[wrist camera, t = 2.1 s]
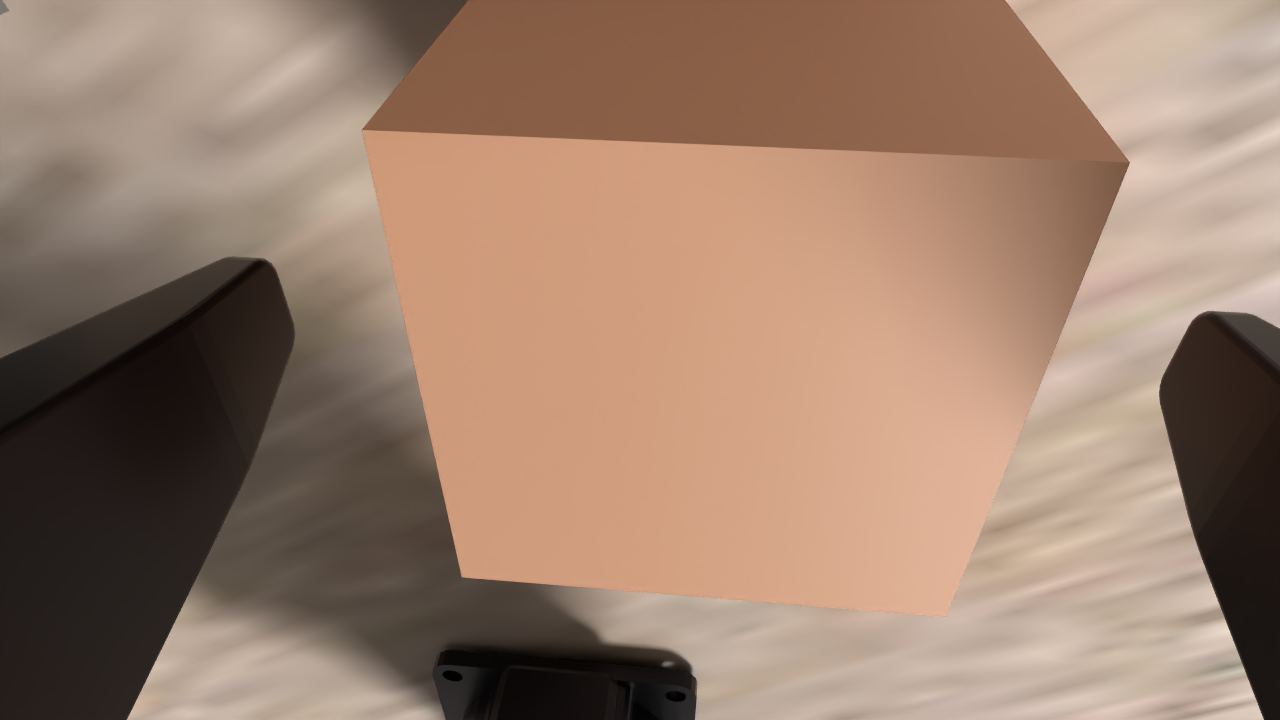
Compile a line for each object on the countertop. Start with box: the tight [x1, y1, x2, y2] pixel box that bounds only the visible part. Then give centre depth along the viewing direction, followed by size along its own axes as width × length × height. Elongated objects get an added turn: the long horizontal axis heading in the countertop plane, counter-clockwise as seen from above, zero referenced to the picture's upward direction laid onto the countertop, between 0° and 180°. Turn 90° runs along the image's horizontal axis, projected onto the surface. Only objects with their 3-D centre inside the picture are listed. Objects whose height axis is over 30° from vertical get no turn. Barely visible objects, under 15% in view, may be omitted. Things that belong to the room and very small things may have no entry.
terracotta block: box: [362, 0, 1130, 617], centre depth 9 cm, size 5×5×6 cm
